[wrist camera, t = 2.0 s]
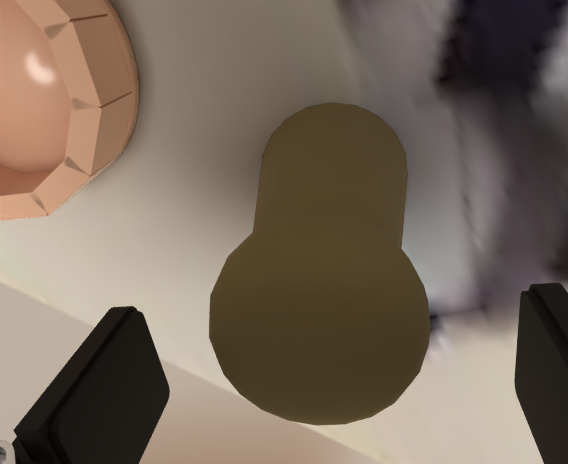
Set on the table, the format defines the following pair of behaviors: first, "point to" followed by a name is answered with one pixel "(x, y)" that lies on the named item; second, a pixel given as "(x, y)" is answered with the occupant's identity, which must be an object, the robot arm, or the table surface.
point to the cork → (324, 275)
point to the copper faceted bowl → (61, 100)
